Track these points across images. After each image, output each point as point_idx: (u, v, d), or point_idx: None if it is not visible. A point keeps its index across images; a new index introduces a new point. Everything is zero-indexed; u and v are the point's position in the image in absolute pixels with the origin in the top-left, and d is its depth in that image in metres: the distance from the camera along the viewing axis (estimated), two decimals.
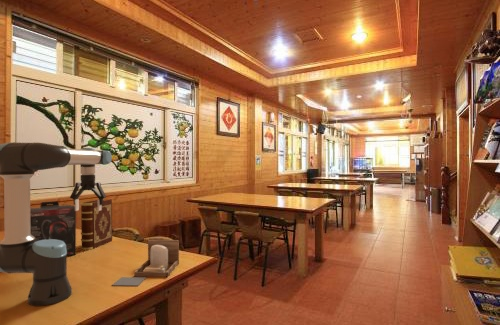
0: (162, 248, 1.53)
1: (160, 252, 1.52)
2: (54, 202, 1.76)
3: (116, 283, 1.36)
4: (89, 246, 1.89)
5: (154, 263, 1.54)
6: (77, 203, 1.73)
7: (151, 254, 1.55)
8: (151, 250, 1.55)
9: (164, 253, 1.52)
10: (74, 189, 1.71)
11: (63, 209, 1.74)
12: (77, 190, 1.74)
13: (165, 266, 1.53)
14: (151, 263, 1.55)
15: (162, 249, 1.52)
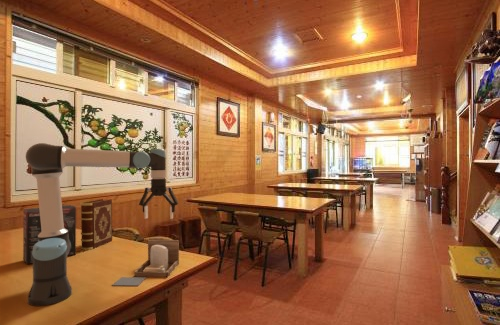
0: (162, 248, 1.53)
1: (160, 252, 1.52)
2: None
3: (116, 283, 1.36)
4: (89, 246, 1.89)
5: (154, 263, 1.54)
6: (146, 210, 1.56)
7: (151, 254, 1.55)
8: (151, 250, 1.55)
9: (164, 253, 1.52)
10: (144, 195, 1.54)
11: (63, 209, 1.74)
12: None
13: (165, 266, 1.53)
14: (151, 263, 1.55)
15: (162, 249, 1.52)
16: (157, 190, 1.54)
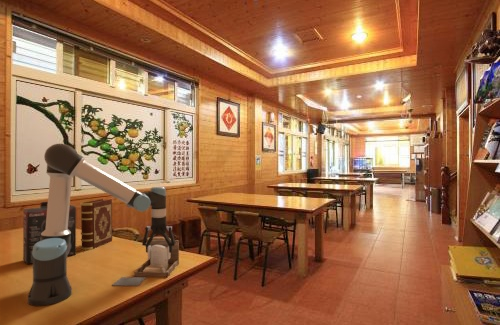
0: (162, 248, 1.53)
1: (160, 252, 1.52)
2: None
3: (116, 283, 1.36)
4: (89, 246, 1.89)
5: (154, 263, 1.54)
6: None
7: (151, 254, 1.55)
8: (151, 250, 1.55)
9: (164, 253, 1.52)
10: (145, 234, 1.54)
11: None
12: None
13: (165, 266, 1.53)
14: (151, 263, 1.55)
15: (162, 249, 1.52)
16: (157, 228, 1.54)
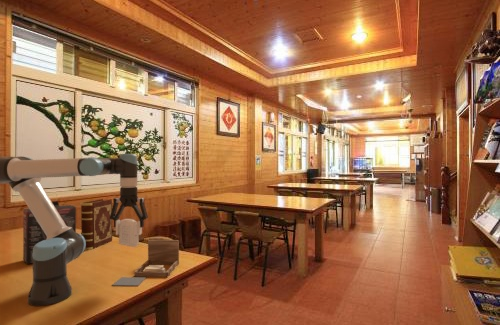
0: (132, 222, 1.36)
1: (129, 226, 1.35)
2: (54, 202, 1.76)
3: (116, 283, 1.36)
4: (89, 246, 1.89)
5: (123, 239, 1.37)
6: (118, 225, 1.38)
7: (120, 229, 1.38)
8: (120, 224, 1.38)
9: (134, 227, 1.35)
10: (113, 207, 1.37)
11: (63, 209, 1.74)
12: (116, 208, 1.39)
13: (135, 242, 1.36)
14: (120, 239, 1.38)
15: (132, 223, 1.35)
16: (127, 200, 1.37)
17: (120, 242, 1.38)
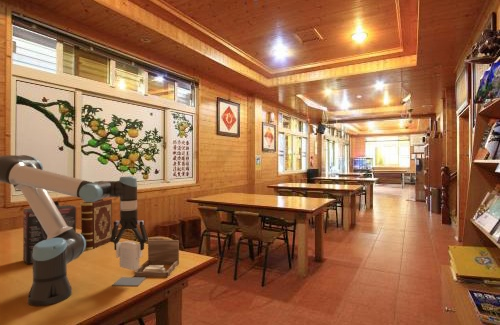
0: (132, 245, 1.35)
1: (130, 249, 1.35)
2: (54, 202, 1.76)
3: (116, 283, 1.36)
4: (89, 246, 1.89)
5: (123, 262, 1.37)
6: (119, 248, 1.38)
7: (120, 252, 1.38)
8: (121, 247, 1.38)
9: (135, 250, 1.35)
10: (113, 230, 1.37)
11: (63, 209, 1.74)
12: (117, 230, 1.39)
13: (135, 265, 1.35)
14: (120, 262, 1.38)
15: (132, 246, 1.35)
16: (127, 222, 1.37)
17: (121, 265, 1.38)
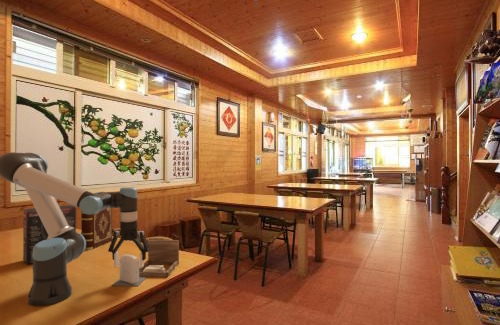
0: (132, 258, 1.35)
1: (129, 263, 1.35)
2: None
3: (116, 283, 1.36)
4: (89, 246, 1.89)
5: (123, 275, 1.37)
6: (117, 257, 1.38)
7: (120, 265, 1.38)
8: (121, 260, 1.38)
9: (134, 264, 1.35)
10: (112, 240, 1.37)
11: (63, 209, 1.74)
12: (116, 240, 1.39)
13: (135, 278, 1.35)
14: (120, 275, 1.38)
15: (132, 259, 1.35)
16: (127, 234, 1.37)
17: (121, 278, 1.38)
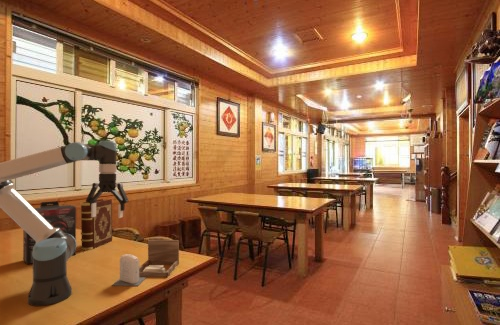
0: (132, 258, 1.35)
1: (130, 263, 1.35)
2: (54, 202, 1.76)
3: (116, 283, 1.36)
4: (89, 246, 1.89)
5: (123, 275, 1.37)
6: (94, 208, 1.42)
7: (120, 265, 1.38)
8: (121, 260, 1.38)
9: (135, 264, 1.35)
10: (91, 191, 1.41)
11: (63, 209, 1.74)
12: (94, 192, 1.43)
13: (135, 279, 1.35)
14: (120, 275, 1.38)
15: (132, 259, 1.35)
16: (105, 186, 1.40)
17: (121, 278, 1.38)
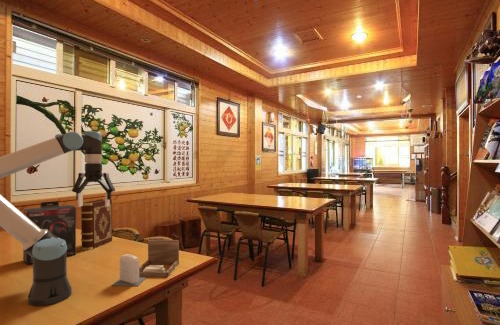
0: (132, 258, 1.35)
1: (130, 263, 1.35)
2: (54, 202, 1.76)
3: (116, 283, 1.36)
4: (89, 246, 1.89)
5: (123, 275, 1.37)
6: (80, 197, 1.45)
7: (120, 265, 1.38)
8: (121, 260, 1.38)
9: (135, 264, 1.35)
10: (77, 181, 1.43)
11: (63, 209, 1.74)
12: (80, 182, 1.45)
13: (135, 279, 1.35)
14: (120, 275, 1.38)
15: (132, 259, 1.35)
16: (91, 176, 1.43)
17: (121, 278, 1.38)
